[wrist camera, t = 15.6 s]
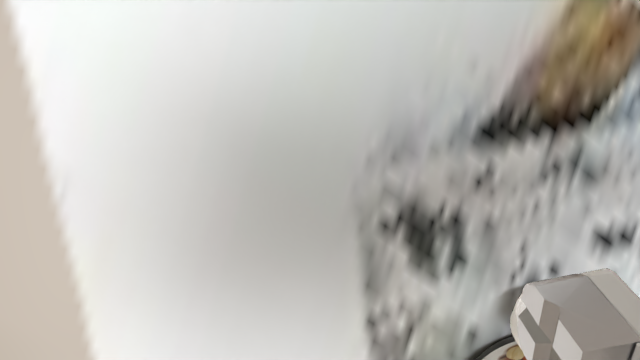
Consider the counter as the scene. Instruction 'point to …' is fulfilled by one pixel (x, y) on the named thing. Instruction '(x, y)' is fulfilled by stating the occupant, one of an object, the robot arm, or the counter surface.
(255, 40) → the counter surface
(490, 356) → the spread jar
